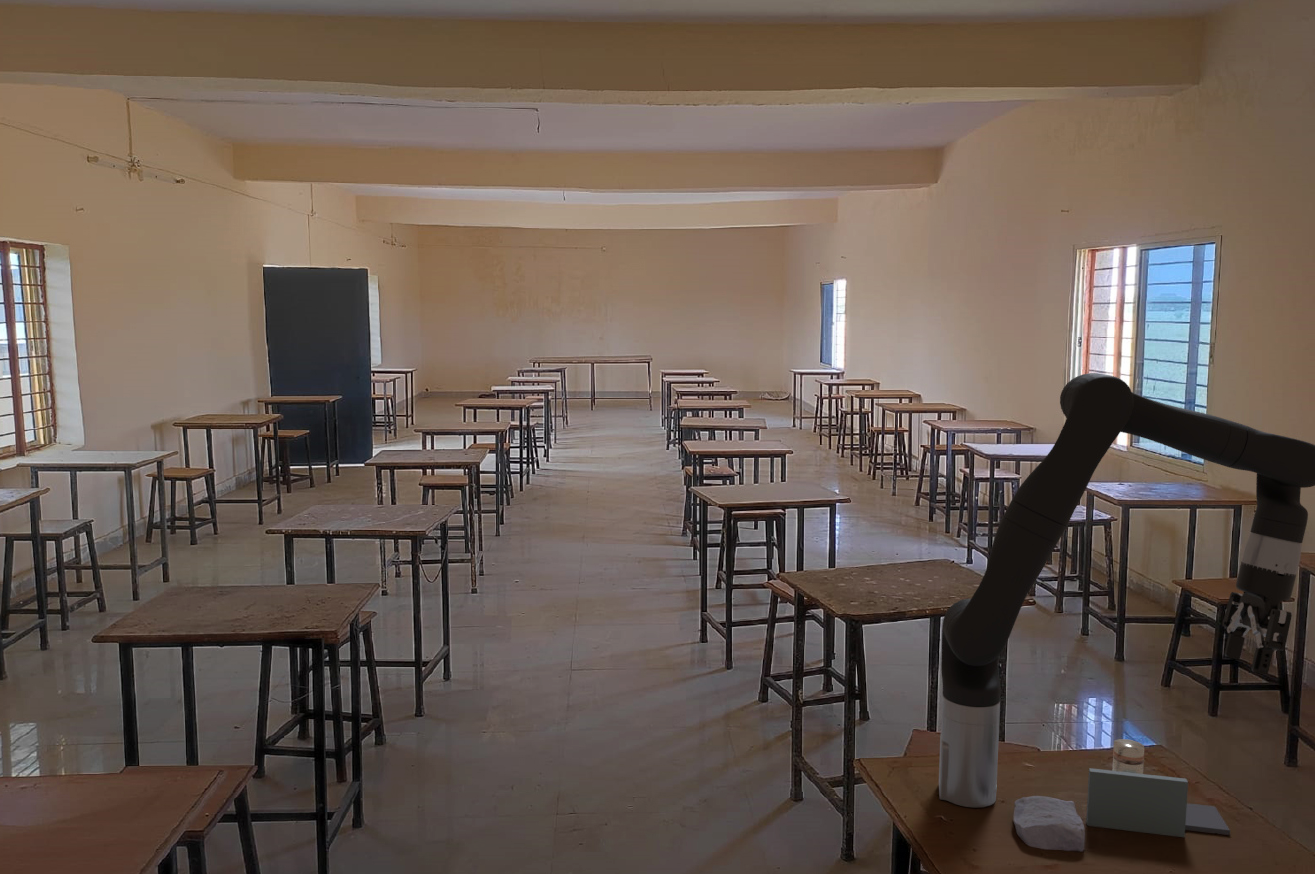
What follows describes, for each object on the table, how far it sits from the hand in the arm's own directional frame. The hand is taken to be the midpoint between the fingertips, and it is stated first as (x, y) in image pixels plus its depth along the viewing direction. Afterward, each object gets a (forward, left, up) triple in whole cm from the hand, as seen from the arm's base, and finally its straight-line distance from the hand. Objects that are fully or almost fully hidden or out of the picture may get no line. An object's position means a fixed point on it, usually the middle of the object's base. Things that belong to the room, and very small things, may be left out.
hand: (1245, 665), depth 154 cm
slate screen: (-16, -8, -26) cm, 31 cm away
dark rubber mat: (-6, -2, -26) cm, 27 cm away
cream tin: (-16, -1, -26) cm, 30 cm away
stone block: (-30, -12, -26) cm, 41 cm away
